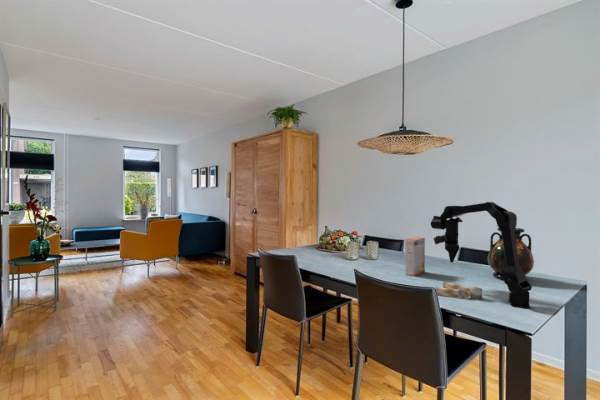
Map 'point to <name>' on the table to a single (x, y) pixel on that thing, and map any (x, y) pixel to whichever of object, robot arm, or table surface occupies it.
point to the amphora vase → (498, 255)
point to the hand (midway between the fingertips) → (451, 261)
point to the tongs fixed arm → (453, 292)
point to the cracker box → (415, 256)
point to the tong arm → (473, 291)
